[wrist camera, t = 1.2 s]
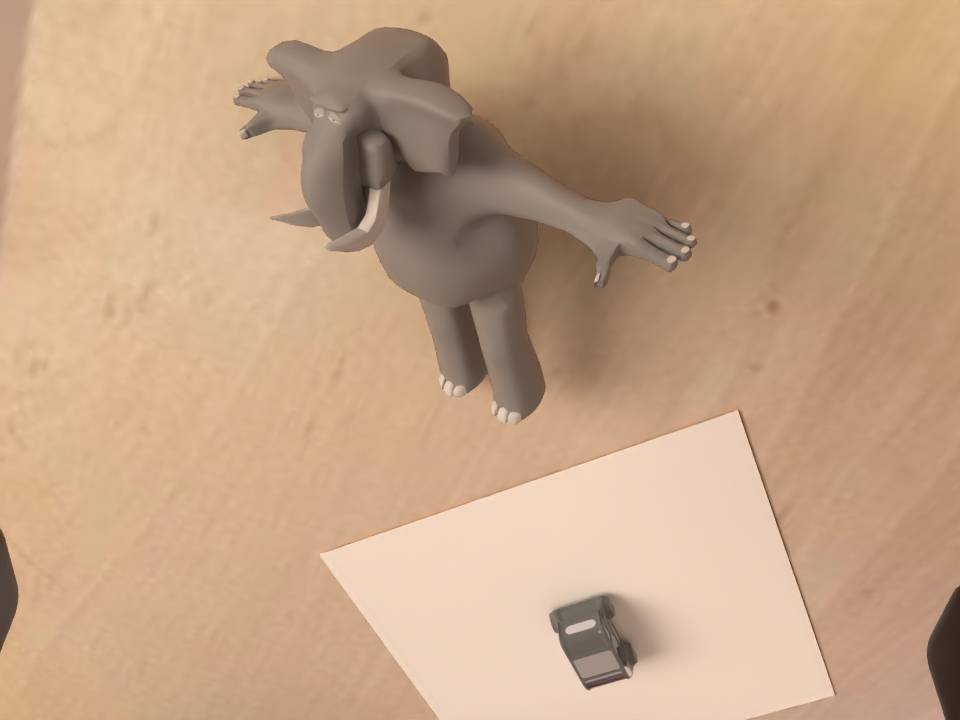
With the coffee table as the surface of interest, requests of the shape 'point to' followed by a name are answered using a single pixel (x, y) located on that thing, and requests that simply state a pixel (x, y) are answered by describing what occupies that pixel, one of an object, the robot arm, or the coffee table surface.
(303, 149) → the elephant figurine
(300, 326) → the coffee table surface
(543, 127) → the coffee table surface
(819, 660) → the cream square coaster
